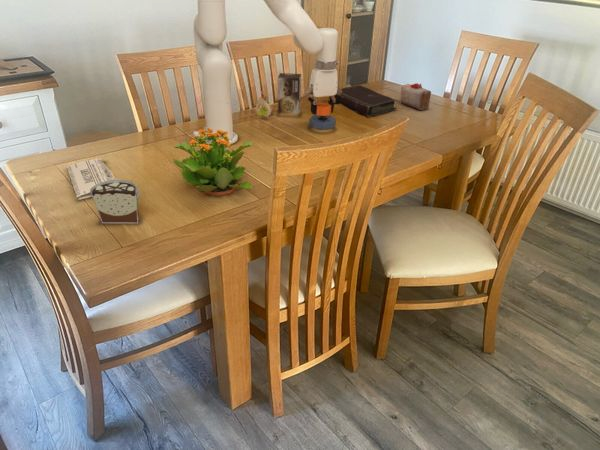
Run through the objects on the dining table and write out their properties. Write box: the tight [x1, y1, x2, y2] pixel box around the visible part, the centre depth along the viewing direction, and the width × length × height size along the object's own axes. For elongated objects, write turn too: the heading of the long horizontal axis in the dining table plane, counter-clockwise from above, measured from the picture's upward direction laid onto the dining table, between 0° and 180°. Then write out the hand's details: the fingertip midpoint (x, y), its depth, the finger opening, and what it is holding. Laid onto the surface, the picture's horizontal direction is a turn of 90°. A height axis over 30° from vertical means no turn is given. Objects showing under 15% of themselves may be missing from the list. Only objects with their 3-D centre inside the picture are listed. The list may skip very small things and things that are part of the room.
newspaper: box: [66, 157, 117, 201], centre depth 142 cm, size 23×12×2 cm, turn 30°
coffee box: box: [277, 72, 302, 115], centre depth 193 cm, size 9×6×16 cm
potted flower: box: [172, 128, 254, 197], centre depth 135 cm, size 25×24×18 cm
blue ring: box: [308, 114, 337, 131], centre depth 182 cm, size 10×10×2 cm
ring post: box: [309, 115, 336, 131], centre depth 182 cm, size 10×10×8 cm
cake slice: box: [89, 178, 141, 225], centre depth 122 cm, size 12×6×10 cm, turn 92°
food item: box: [400, 82, 432, 111], centre depth 208 cm, size 14×8×10 cm, turn 33°
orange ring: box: [316, 101, 332, 116], centre depth 179 cm, size 6×6×3 cm
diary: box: [334, 84, 399, 118], centre depth 207 cm, size 19×25×5 cm
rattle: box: [255, 90, 272, 118], centre depth 190 cm, size 8×8×12 cm
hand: (322, 112), depth 180 cm, fingers closed on orange ring, 6 cm apart
